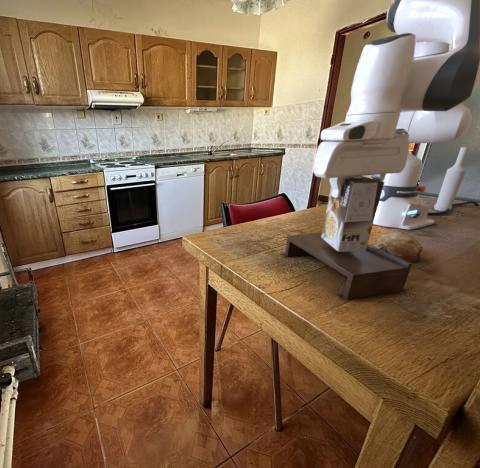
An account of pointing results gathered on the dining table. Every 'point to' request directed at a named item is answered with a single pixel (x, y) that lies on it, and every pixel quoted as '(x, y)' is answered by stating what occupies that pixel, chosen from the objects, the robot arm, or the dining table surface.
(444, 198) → the bottle
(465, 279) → the dining table surface
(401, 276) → the shelf
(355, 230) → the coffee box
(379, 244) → the bread roll
